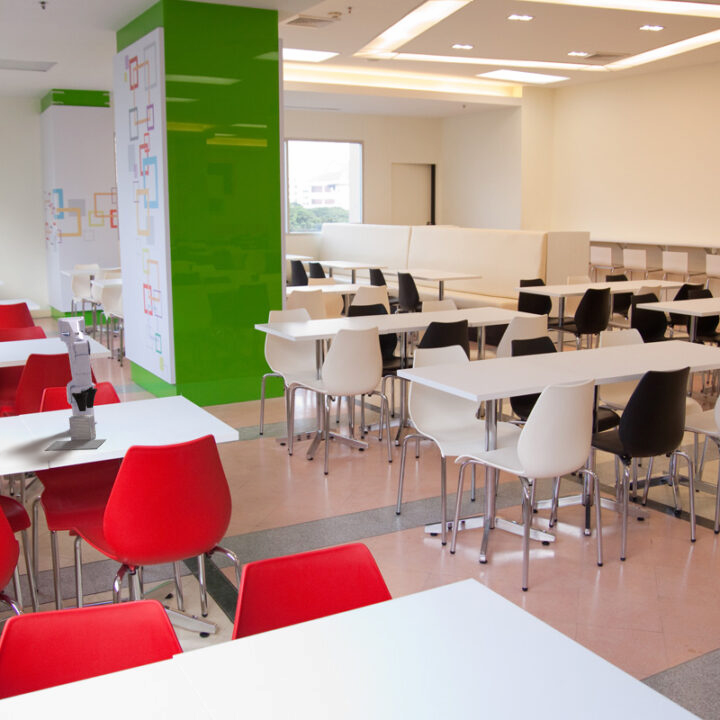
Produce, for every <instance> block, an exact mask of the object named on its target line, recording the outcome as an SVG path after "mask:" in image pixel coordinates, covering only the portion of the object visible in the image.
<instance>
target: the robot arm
mask: <svg viewBox="0 0 720 720" xmlns="http://www.w3.org/2000/svg"><path fill="white" fill-rule="evenodd" d="M57 329H58V336H59V338H60V341H61V342H63V343H65V345H66V347H67V352H68V358H69V366H70V372H71V378H72V380H70V381H69V382H68V383H67V385H66V398H67V400H66V401H67V403H68V404H69V405H71V410H72V411H71V412H72V416H73V415H94V416H95V408H94V403H95V399H96V397H95V396H96V393H97V392H98V388H97V387H96V384H95V383H94V382H93V378H92V370H91V369H92V367H91V359H90V358H91V357H90V356H91V354H92V353H91V343H90V341H89V339H86V321H85V317H84V316H81V315H80V316H73V317H71V316H70V317H59V318H58V319H57ZM94 421H95V425H96V424H97V423H98V420H95V417H94Z"/></svg>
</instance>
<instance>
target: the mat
mask: <svg viewBox="0 0 720 720" xmlns="http://www.w3.org/2000/svg"><path fill="white" fill-rule="evenodd" d="M105 440H107V439H106V438H102V439H100V438H99V439H92V440H71V439H70V440H56V441H54V442H53V443H52V444H51V445H49V446H48V447H47V448H45V449H44V451H46V452H49V450H53V451H70V450H69V449H72V450H73V451H76V449H81V450H97V449H98V448H99V447H101V446H102V445H103V444H104V443H105V442H106V441H105ZM104 441H105V442H104ZM72 450H71V451H72Z"/></svg>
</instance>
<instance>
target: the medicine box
mask: <svg viewBox="0 0 720 720" xmlns="http://www.w3.org/2000/svg"><path fill="white" fill-rule="evenodd" d="M94 418H95V414H94V415H73V414H72V415H71V416H70V417H69V418H68V422H69V433H70V440H95V438H97V433H96V424H95V421H96V420H95V421H94Z"/></svg>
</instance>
